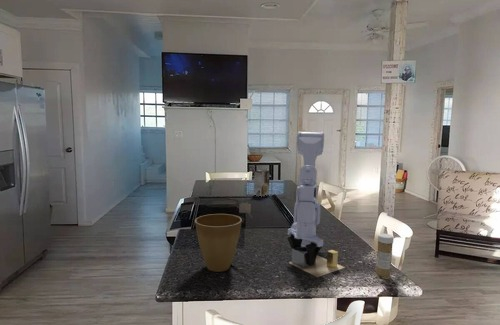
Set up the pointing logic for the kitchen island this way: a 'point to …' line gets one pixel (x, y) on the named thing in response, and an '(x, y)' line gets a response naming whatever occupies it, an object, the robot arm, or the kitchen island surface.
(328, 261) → the brass post
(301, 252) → the grey hollow square block
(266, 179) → the coffee box
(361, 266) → the kitchen island surface
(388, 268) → the sprinkles bottle
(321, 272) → the plate
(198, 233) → the plant pot
